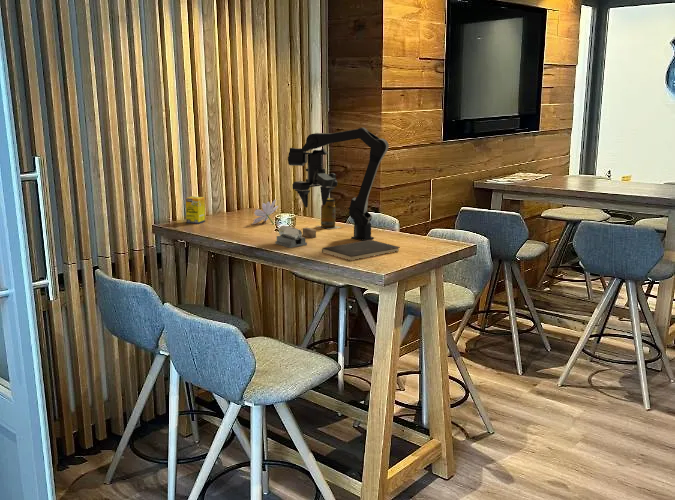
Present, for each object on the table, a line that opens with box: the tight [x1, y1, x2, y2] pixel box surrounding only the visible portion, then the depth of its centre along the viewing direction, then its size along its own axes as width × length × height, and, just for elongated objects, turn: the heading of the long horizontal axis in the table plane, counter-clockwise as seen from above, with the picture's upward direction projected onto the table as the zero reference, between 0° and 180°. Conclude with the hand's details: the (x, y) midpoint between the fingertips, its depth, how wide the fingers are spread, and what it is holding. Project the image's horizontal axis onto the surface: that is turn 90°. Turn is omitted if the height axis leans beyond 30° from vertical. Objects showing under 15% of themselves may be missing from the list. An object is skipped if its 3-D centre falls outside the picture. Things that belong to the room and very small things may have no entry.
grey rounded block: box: [302, 226, 317, 239], centre depth 264 cm, size 6×10×3 cm, turn 131°
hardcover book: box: [321, 239, 401, 261], centre depth 242 cm, size 16×23×2 cm
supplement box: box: [185, 195, 206, 225], centre depth 292 cm, size 6×6×11 cm
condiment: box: [317, 197, 343, 230], centre depth 285 cm, size 7×8×12 cm
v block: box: [274, 234, 308, 249], centre depth 253 cm, size 9×8×3 cm
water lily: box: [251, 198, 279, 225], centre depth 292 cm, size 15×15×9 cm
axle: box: [278, 225, 303, 240], centre depth 252 cm, size 9×4×4 cm, turn 41°
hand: (315, 206), depth 266 cm, fingers open, 9 cm apart
